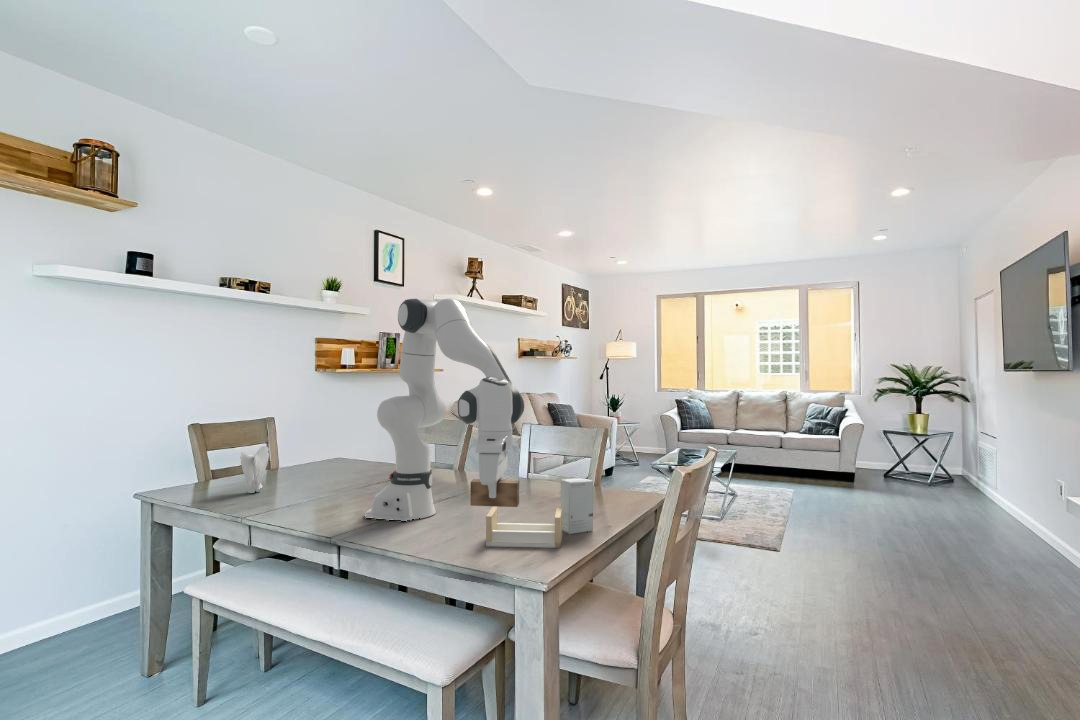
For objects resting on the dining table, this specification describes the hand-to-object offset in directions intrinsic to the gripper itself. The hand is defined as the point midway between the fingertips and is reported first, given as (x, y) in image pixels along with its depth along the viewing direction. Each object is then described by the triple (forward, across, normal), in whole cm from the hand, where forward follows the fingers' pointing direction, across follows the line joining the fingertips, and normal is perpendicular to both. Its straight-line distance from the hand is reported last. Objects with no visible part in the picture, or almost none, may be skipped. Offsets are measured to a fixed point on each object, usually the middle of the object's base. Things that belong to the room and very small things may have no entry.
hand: (494, 495), depth 140 cm
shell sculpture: (+18, -62, -106) cm, 124 cm away
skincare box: (+15, -23, +20) cm, 34 cm away
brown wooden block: (+2, 0, 0) cm, 2 cm away
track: (+15, -12, +7) cm, 20 cm away
